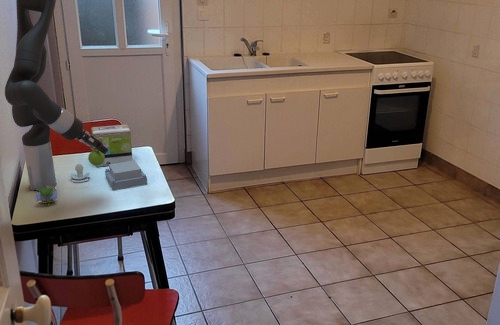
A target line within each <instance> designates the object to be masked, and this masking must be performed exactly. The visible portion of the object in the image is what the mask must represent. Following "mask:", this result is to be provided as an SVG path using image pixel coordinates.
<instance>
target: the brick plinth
mask: <svg viewBox="0 0 500 325" xmlns="http://www.w3.org/2000/svg"><path fill="white" fill-rule="evenodd" d="M108 167H109V168H105V170H104V175H105V179H106V181H107V183H108V185H109V187H110V188H111V190H112V191H117V190H122V189H123V190H124V189H128V188H129V189H130V188H134V187H140V186H145V185H148V178H147V174H145V173H144V171H143V170H142V168H141V167H140V165H139V164H138V163H137V162H136V160H132V161H127V162H121V163H114V164H109V165H108Z"/></svg>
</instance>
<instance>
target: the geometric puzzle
mask: <svg viewBox="0 0 500 325" xmlns="http://www.w3.org/2000/svg"><path fill="white" fill-rule="evenodd" d="M44 186H45V185H44ZM44 186H43V187H44ZM37 191H38V192H37ZM37 191H36V193H35V196H36V197H35V198H36V202H37V203H40V204H42V205H44V206H49V203H50V205H51V204H53V203H54V202H55V201H56V200H57V199H58V192H57V189H56V187H55V186H54V187H52V186H49V185H46V189H39V190H37ZM39 201H40V202H39ZM44 203H46V204H44Z"/></svg>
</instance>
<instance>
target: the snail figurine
mask: <svg viewBox="0 0 500 325" xmlns="http://www.w3.org/2000/svg"><path fill="white" fill-rule="evenodd" d="M101 135H103V134H100V137H99V140H98V138H96V137H95V138H96V139H97V140H98V141H100V142H102V140H103V138H102V137H101ZM89 147H90V149H91V150H92V151H90V152H89V153H88V156H87V157H88V158H87V160H88V161H89V162H88V163H90V165H93V166H95V167H96V166H98V165H101V164H102V163H103V162H104V160H105V156H104V154H103V153H101V152H100V151H99V150H97V149H95V148H94V147H92V146H89Z"/></svg>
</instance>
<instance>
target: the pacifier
mask: <svg viewBox="0 0 500 325" xmlns="http://www.w3.org/2000/svg"><path fill="white" fill-rule="evenodd" d="M74 167H75V168H74V169H75V172H76V173H70V174H69V177H71V180H70V181H71V182H72V183H85V182H88V181H89V178H88V177H89V176H90V174H91V172H87V173H84V166H83V165H82V164H81V163H78V164H75V166H74Z"/></svg>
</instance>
